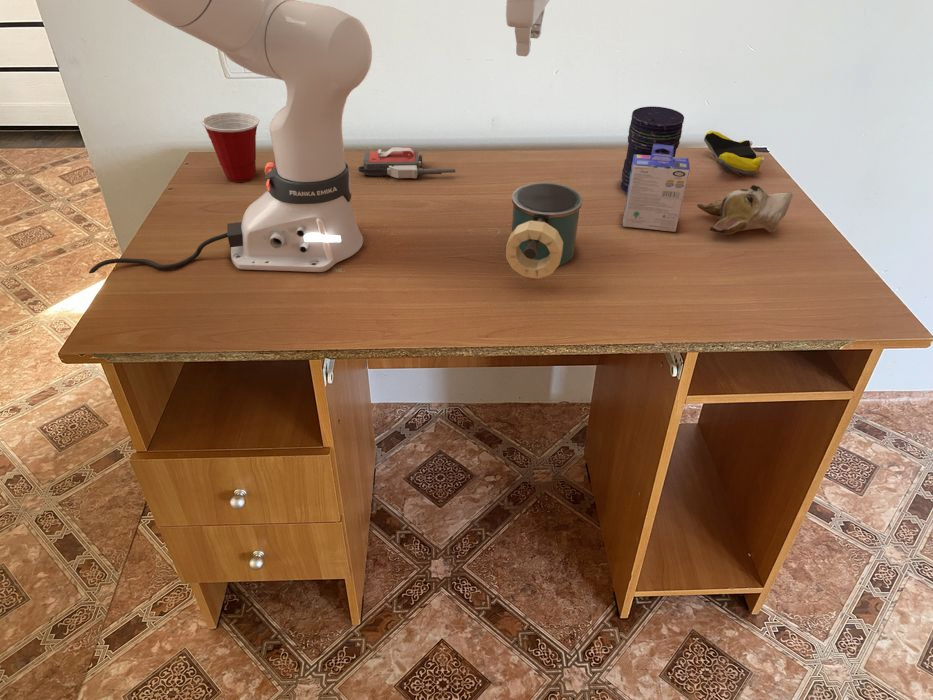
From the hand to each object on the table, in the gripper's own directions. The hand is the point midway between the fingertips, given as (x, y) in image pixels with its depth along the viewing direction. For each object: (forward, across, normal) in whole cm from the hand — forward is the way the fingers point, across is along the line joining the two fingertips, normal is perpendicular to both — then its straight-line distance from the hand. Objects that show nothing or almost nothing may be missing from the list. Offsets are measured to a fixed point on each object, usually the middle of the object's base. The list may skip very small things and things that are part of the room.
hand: (528, 45), depth 100 cm
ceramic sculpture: (+33, +16, -39) cm, 54 cm away
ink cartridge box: (+33, +14, -22) cm, 42 cm away
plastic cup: (+33, +12, +60) cm, 70 cm away
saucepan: (+33, -6, -5) cm, 34 cm away
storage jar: (+33, +28, -21) cm, 48 cm away
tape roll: (+30, -13, -5) cm, 33 cm away
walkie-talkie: (+33, +23, +28) cm, 49 cm away
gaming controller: (+33, +44, -38) cm, 67 cm away
